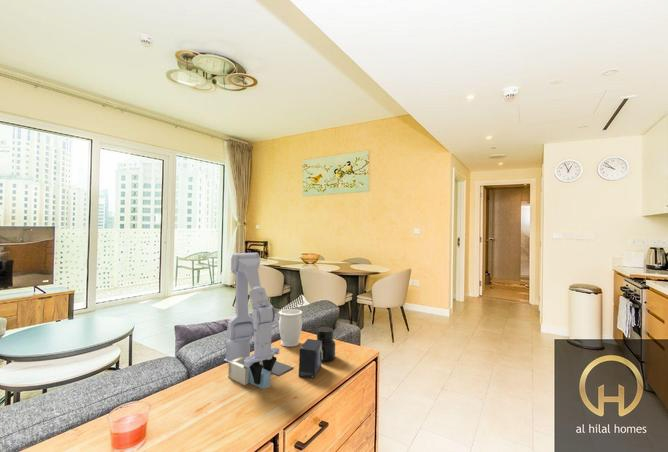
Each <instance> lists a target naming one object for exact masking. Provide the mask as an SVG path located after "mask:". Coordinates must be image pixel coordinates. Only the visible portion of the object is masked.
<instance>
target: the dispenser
mask: <svg viewBox="0 0 668 452" xmlns="http://www.w3.org/2000/svg"><path fill="white" fill-rule="evenodd" d="M248 358H249V357H247V356H242V357H239V358H237V359H234V360H232V361H230V362H228V370H227V371H228V375H227V377H228V378H229V379H231V380H233V381H235V382H237V383H240V384H242V385H244V386H246V385H248V384H249V368H247V367H244V360H246V359H248ZM259 363H260V365H261V361H260V362H259Z"/></svg>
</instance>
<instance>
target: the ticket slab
mask: <svg viewBox="0 0 668 452" xmlns="http://www.w3.org/2000/svg"><path fill="white" fill-rule="evenodd" d="M270 372H271V371H268V370H266V369H263V368H262V371H261V380H260V384H259V385H258V384H255V383H254V379H253V375H252V373H251V370H250V368H249V382H248V384H251V385H254V386H256V387H258V388H260V389H262V390H265V389H267V388H268V387H270V386H271V375H270Z"/></svg>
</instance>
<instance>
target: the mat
mask: <svg viewBox="0 0 668 452" xmlns="http://www.w3.org/2000/svg"><path fill="white" fill-rule="evenodd" d="M261 365H263V362H262V361H261ZM292 369H294V367H293V366H290V365H288V364H285V363H282V362H279V361H278V360H276V362H275V364H274V366H273V368H272V371H271V374H272V375H274V376H277V377H280V376H282V375H283V374H285V373H287V372H289V371H291V370H292Z"/></svg>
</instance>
